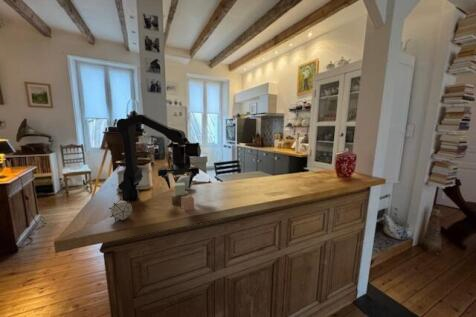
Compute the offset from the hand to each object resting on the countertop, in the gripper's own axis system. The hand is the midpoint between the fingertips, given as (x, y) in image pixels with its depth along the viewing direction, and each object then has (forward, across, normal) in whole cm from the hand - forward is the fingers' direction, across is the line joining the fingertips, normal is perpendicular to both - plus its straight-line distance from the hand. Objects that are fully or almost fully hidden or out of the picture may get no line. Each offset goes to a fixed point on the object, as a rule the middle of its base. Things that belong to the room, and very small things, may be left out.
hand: (179, 188), depth 99 cm
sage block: (+3, 0, 0) cm, 3 cm away
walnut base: (+7, 0, 0) cm, 7 cm away
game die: (+7, -22, -15) cm, 27 cm away
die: (+7, +3, +18) cm, 19 cm away
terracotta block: (+7, +3, -10) cm, 12 cm away
